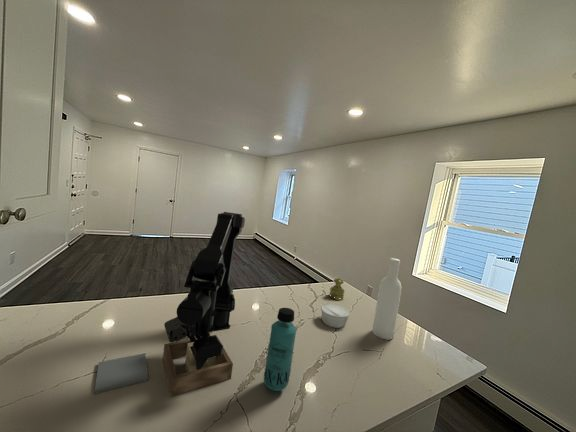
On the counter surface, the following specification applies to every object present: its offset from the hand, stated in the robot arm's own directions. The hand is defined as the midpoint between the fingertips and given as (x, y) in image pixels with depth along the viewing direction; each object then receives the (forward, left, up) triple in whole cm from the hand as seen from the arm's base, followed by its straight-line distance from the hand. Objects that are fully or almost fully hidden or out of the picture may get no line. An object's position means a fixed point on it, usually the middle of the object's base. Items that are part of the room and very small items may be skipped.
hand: (196, 363), depth 65 cm
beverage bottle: (-16, +14, -2) cm, 21 cm away
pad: (+16, -5, -1) cm, 17 cm away
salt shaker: (-77, -27, -2) cm, 82 cm away
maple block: (0, 0, -1) cm, 1 cm away
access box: (0, 0, -1) cm, 1 cm away
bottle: (-69, +7, -2) cm, 69 cm away
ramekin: (-56, -7, -2) cm, 56 cm away
